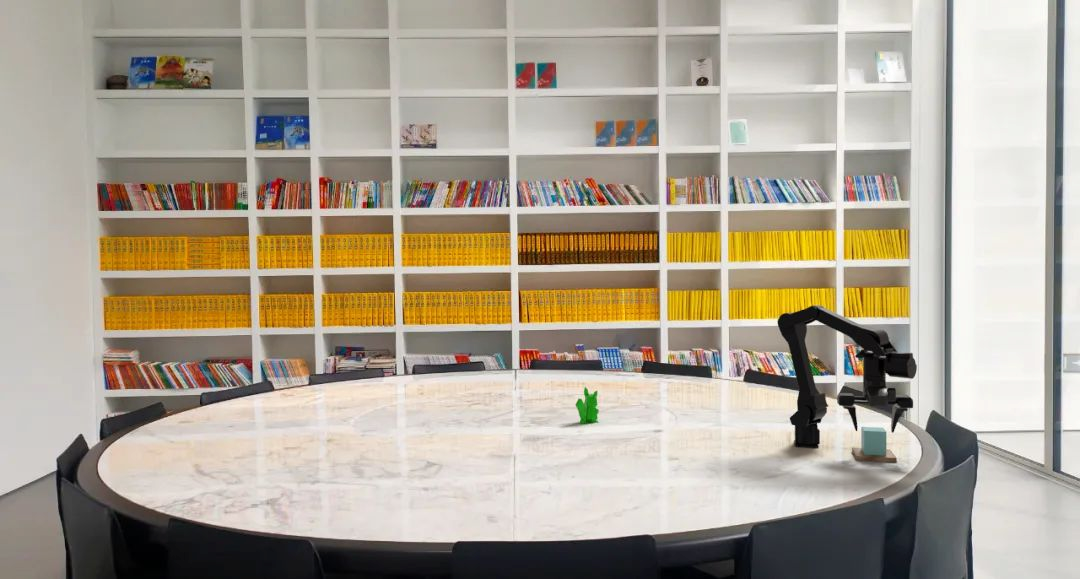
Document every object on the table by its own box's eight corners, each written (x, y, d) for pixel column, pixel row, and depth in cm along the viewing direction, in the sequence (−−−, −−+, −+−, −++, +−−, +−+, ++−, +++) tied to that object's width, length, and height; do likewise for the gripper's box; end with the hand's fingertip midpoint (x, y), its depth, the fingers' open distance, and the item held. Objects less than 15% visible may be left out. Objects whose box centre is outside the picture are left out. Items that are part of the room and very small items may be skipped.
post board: (856, 460, 210) (856, 437, 210) (852, 451, 220) (852, 430, 219) (896, 462, 207) (896, 439, 207) (890, 453, 217) (890, 431, 217)
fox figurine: (603, 422, 265) (603, 387, 265) (584, 426, 259) (584, 390, 258) (590, 419, 270) (590, 385, 269) (571, 423, 263) (571, 388, 263)
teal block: (864, 454, 211) (864, 430, 211) (861, 449, 217) (861, 426, 217) (886, 455, 210) (886, 431, 210) (882, 450, 215) (883, 427, 215)
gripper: (841, 378, 207) (841, 436, 208) (917, 380, 203) (917, 439, 203) (836, 372, 218) (836, 427, 219) (909, 374, 213) (909, 430, 214)
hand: (874, 431), depth 213 cm, fingers open, 9 cm apart
